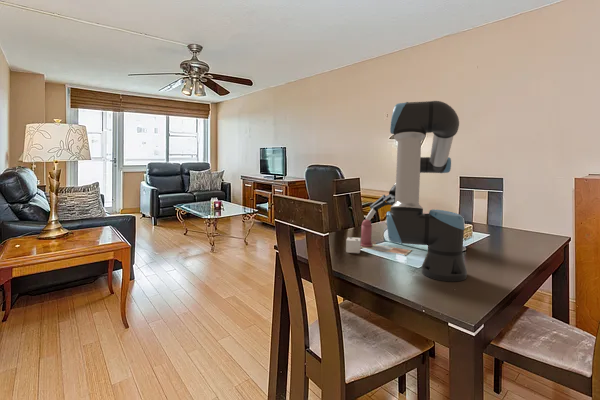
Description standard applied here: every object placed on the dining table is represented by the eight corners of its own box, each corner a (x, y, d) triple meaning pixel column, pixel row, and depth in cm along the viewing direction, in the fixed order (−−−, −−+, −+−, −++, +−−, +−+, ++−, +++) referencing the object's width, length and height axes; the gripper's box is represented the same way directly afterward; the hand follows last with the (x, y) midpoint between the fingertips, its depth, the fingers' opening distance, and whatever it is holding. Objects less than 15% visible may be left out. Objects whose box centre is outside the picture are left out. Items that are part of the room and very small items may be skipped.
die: (359, 254, 146) (359, 240, 145) (346, 253, 147) (346, 239, 146) (360, 250, 151) (360, 237, 151) (347, 249, 153) (347, 236, 152)
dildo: (369, 247, 154) (370, 221, 153) (357, 245, 158) (358, 219, 156) (374, 245, 159) (375, 219, 158) (362, 243, 163) (363, 217, 161)
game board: (405, 255, 143) (405, 254, 143) (353, 247, 157) (353, 246, 157) (411, 250, 151) (411, 250, 150) (361, 243, 165) (361, 242, 165)
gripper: (422, 197, 158) (399, 231, 152) (385, 192, 179) (363, 222, 174) (415, 187, 154) (391, 221, 149) (378, 183, 176) (356, 213, 170)
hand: (376, 222), depth 161 cm, fingers open, 13 cm apart
